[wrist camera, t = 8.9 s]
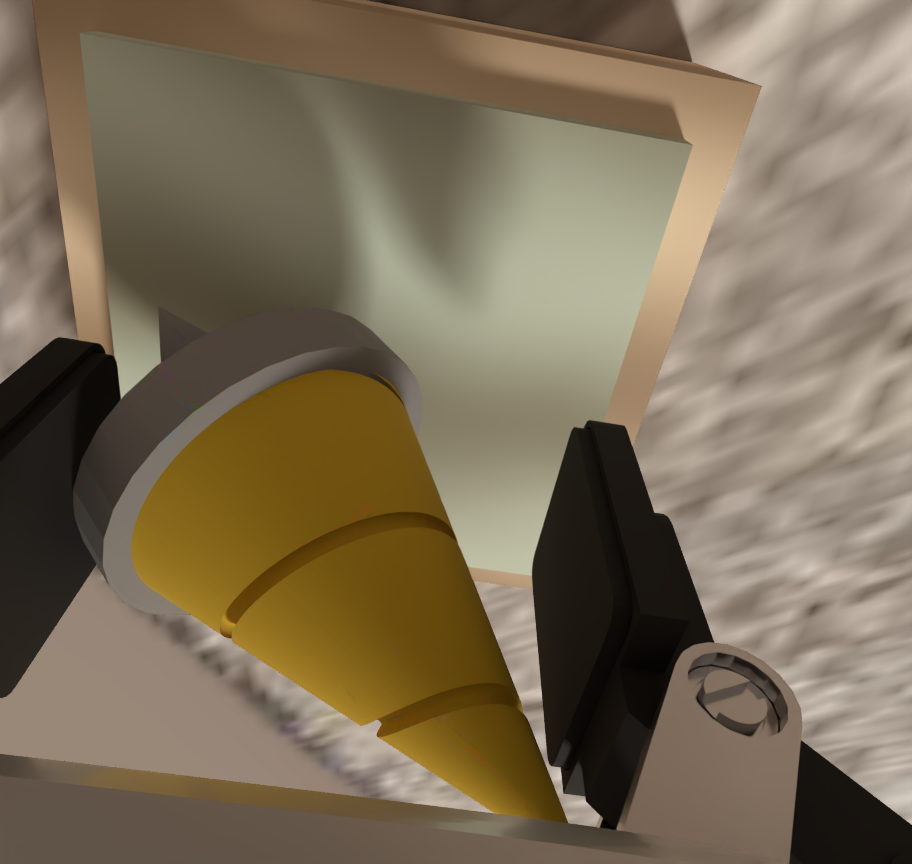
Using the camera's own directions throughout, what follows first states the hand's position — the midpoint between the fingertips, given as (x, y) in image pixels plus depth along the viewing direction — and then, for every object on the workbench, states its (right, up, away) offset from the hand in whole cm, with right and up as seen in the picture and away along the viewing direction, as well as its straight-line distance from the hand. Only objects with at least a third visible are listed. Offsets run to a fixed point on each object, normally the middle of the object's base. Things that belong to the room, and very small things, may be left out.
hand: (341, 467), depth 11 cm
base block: (0, +5, +7) cm, 9 cm away
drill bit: (0, +1, +2) cm, 2 cm away
